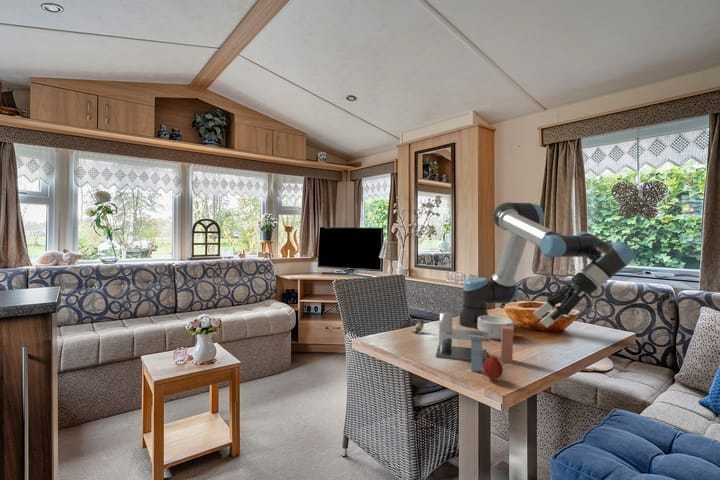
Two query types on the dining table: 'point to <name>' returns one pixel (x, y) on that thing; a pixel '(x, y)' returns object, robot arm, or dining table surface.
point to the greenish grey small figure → (419, 326)
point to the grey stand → (461, 353)
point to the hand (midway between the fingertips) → (539, 320)
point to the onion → (492, 368)
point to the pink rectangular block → (506, 344)
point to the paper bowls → (493, 325)
